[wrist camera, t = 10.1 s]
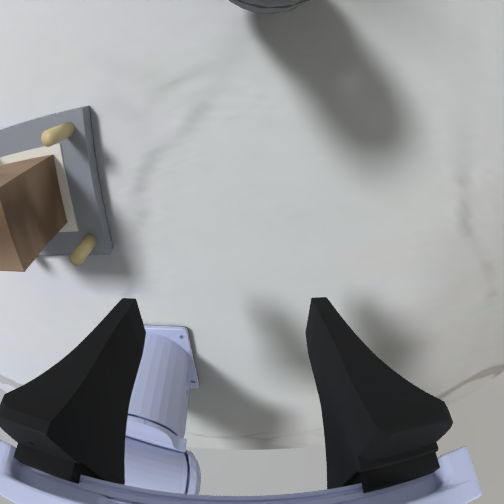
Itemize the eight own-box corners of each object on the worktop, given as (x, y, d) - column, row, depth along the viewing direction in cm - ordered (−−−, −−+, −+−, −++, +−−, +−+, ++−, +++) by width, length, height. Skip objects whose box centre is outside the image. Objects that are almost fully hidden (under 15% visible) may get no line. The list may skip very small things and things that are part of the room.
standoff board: (113, 246, 21) (96, 274, 18) (15, 249, 21) (-5, 272, 18) (89, 105, 16) (61, 114, 13) (-14, 135, 15) (-43, 148, 12)
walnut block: (67, 222, 19) (24, 271, 14) (19, 225, 19) (-25, 269, 14) (53, 154, 16) (-3, 189, 11) (4, 164, 16) (-50, 198, 11)
